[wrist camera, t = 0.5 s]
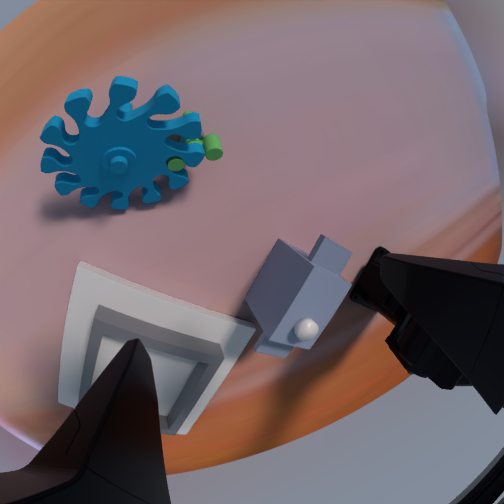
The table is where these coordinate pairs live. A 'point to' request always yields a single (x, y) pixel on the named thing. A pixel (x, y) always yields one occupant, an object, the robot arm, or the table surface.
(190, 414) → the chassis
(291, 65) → the table surface
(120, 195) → the gear
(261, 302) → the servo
